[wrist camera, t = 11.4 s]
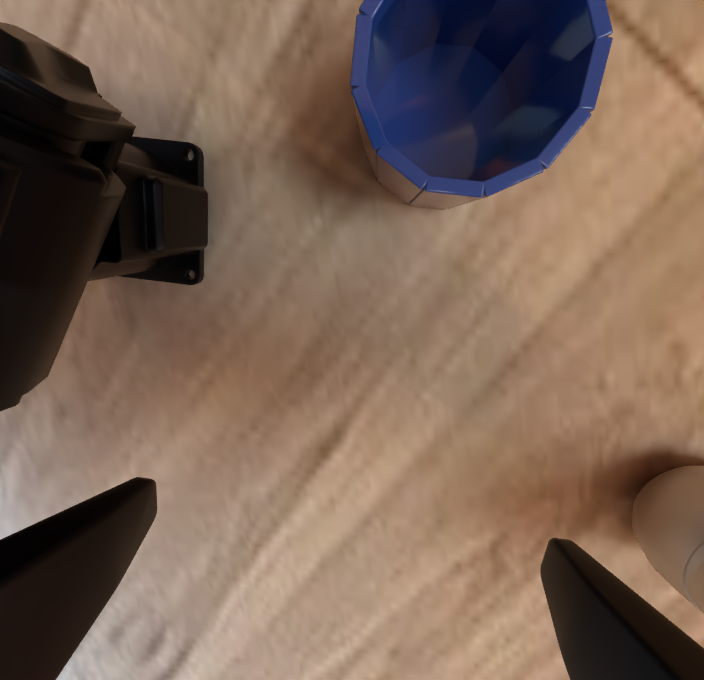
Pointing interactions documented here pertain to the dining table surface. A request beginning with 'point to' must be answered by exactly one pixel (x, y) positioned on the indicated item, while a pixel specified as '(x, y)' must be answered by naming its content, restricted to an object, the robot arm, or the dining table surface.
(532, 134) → the mug
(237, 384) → the dining table surface
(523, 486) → the dining table surface
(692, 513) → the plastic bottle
